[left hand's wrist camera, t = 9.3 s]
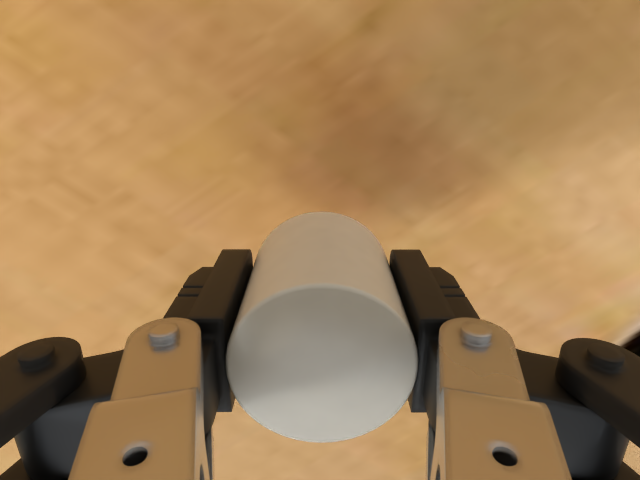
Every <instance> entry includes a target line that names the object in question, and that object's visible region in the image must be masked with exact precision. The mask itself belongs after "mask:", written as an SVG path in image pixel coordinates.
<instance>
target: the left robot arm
mask: <svg viewBox="0 0 640 480" xmlns="http://www.w3.org/2000/svg"><path fill="white" fill-rule="evenodd" d="M389 266H390V269H391V272H392V275H393V278H394V281H395V284H396V287H397V290H398V293H399V295H400V298H401V301H402V304H403V307H404V310H405V313H406V316H407V319H408V321H409V324H410V327H411V330H412V333H413V336H414V339H415V343H416V346H417V351H418V372H417V377H416V381H415V384H414V386H413V389H412V392H411V393H410V395H409V397H408V401H409V405H410V409H411V412H427V415H428V418H429V423H428V431H427V447H426V480H640V475H639V474H637V473H636V472H635V471H634V470H633V469H631V468H630V467H629V466H628V465H627V464H625V463H624V462H623V461H622V460H623V457H624V454H625V452H626V449H627V446H628V443H629V440H630V441H632V442H633V443H634V444H635V445H637V446H638V447H639V448H640V357H639V356H637V355H635V354H634V353H632V352H630V351H628V350H626V349H624V348H622V347H620V346H618V345H615V344H612V343H609V342H606V341H602V340H597V339H590V338H576V339H571V340H568V341H566V342H565V343H564V344H563V345H562V347H561V350H560V354H559V358H556V357H550V356H545V355H540V354H535V353H530V352H525V351H522V350H518V349H515V345H514V341H513V339H512V337H511V336H510V334H509V333H508V332H507V331H505V330H504V329H503V328H501V327H499V326H498V325H496V324H493V323H491V322H488V321H485V320H481V319H480V318H479V316H478V315H477V313H476V311H475V310H474V308H473V307H472V305H471V304H470V302H469V300H468V299H467V297H465V294H464V292H463V291H462V289H461V288H460V286H459V284H458V283H457V281H456V280H455V278H454V276H452V275H451V274H449V273H448V272H446V271H445V270H443V269H442V268H440V267H429V266H428V264H427V262H426V260H425V258H424V257H423V255H422V253H421V251H420V250H392V251H391V254H390V265H389ZM252 269H253V261H252V253H251V250H250V249H223V250H222V251H221V253H220V255H219V257H218V259H217V261H216V263H215V265H214V267H202V268H200V269H199V270H197V271H196V272H194V273H193V274H191V275H190V276H189V277H188V279H187V280H186V282H185V284H184V285H183V288H181V290H180V292H179V293H178V297H176V298H175V300H174V301H173V303H172V305H171V306H170V308H169V310H168V311H167V313H166V314H165V316H164V318H163V319H159V320H155V321H152V322H149V323H147V324H144V325H142V326H141V327H139V328H137V329H136V330H135V331H133V332H132V333H131V334H130V336H129V337H128V339H127V341H126V345H125V349H124V350H120V351H116V352H112V353H106V354H101V355H96V356H91V357H86V358H83V354H82V350H81V347H80V344H79V343H78V342H77V341H76V340H74V339H71V338H66V337H51V338H44V339H40V340H36V341H32V342H29V343H27V344H24V345H22V346H19V347H17V348H15V349H14V350H12V351H10V352H8V353H7V354H5V355H3V356H1V357H0V448H1V447H2V446H3V445H5V444H6V443H7V442H9V441H10V440H11V439H12V438H15V441H16V444H17V447H18V450H19V453H20V456H21V459H19V460H18V461H17V462H16V463H15V464H13V465H12V466H11V467H10V468H9V469H7V470H6V471H5V472H4V473H3V474H1V475H0V480H214V447H213V431H212V425H213V422H214V419H215V415H216V412H232V408H233V404H234V400H235V396H234V394H233V392H232V390H231V387H230V384H229V381H228V378H227V373H226V351H227V345H228V342H229V339H230V336H231V333H232V330H233V327H234V324H235V321H236V318H237V315H238V312H239V309H240V306H241V303H242V300H243V297H244V294H245V291H246V288H247V284H248V281H249V278H250V275H251V272H252Z"/></svg>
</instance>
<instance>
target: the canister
mask: <svg viewBox="0 0 640 480" xmlns="http://www.w3.org/2000/svg"><path fill="white" fill-rule="evenodd" d="M417 372H418V351H417V346H416V343H415V339H414V336H413V333H412V330H411V327H410V324H409V321H408V319H407V316H406V313H405V310H404V307H403V304H402V301H401V298H400V295H399V293H398V290H397V287H396V284H395V281H394V278H393V275H392V272H391V269H390V266H389V264H388V261H387V258H386V255H385V252H384V250H383V248H382V246H381V244H380V242H379V241H378V239H377V238H376V237H375V235H374V234H373V233H372V232H371V231H370V230H369V229H368V228H367V227H365V226H364V225H363V224H361V223H360V222H358V221H356V220H354V219H352V218H350V217H348V216H345V215H342V214H338V213H333V212H310V213H305V214H301V215H298V216H295V217H293V218H291V219H288V220H286V221H285V222H283V223H282V224H280V225H279V226H277V227H276V228H275V229H274V230H273V231H272V232H271V233H270V234H269V235H268V236H267V237H266V239H265V240H264V242H263V243H262V245H261V247H260V249H259V251H258V254H257V257H256V260H255V263H254V266H253V269H252V272H251V275H250V278H249V281H248V284H247V288H246V291H245V294H244V297H243V300H242V303H241V306H240V309H239V312H238V315H237V318H236V321H235V324H234V327H233V330H232V333H231V336H230V339H229V342H228V345H227V351H226V373H227V378H228V381H229V384H230V387H231V390H232V392H233V394H234V396H235V398H236V399H237V401H238V402H239V404H240V405H241V407H242V408H243V409H244V410H245V411H246V412H247V413H248V414H249V415H250V416H251V417H252V418H253V419H254V420H255V421H257V422H258V423H260V424H261V425H263V426H264V427H265V428H267V429H269V430H271V431H273V432H275V433H277V434H280V435H283V436H285V437H288V438H292V439H296V440H301V441H307V442H320V443H321V442H336V441H343V440H348V439H352V438H355V437H358V436H361V435H364V434H366V433H368V432H370V431H372V430H375V429H376V428H378V427H379V426H381V425H383V424H384V423H386V422H387V421H388V420H389V419H391V418H392V417H393V416H394V415H395V414H396V413H397V412H398V411H399V410H400V409H401V407H402V406H403V405H404V403H405V402H406V401H407V399H408V397H409V395H410V393H411V392H412V389H413V386H414V384H415V381H416V377H417Z"/></svg>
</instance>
